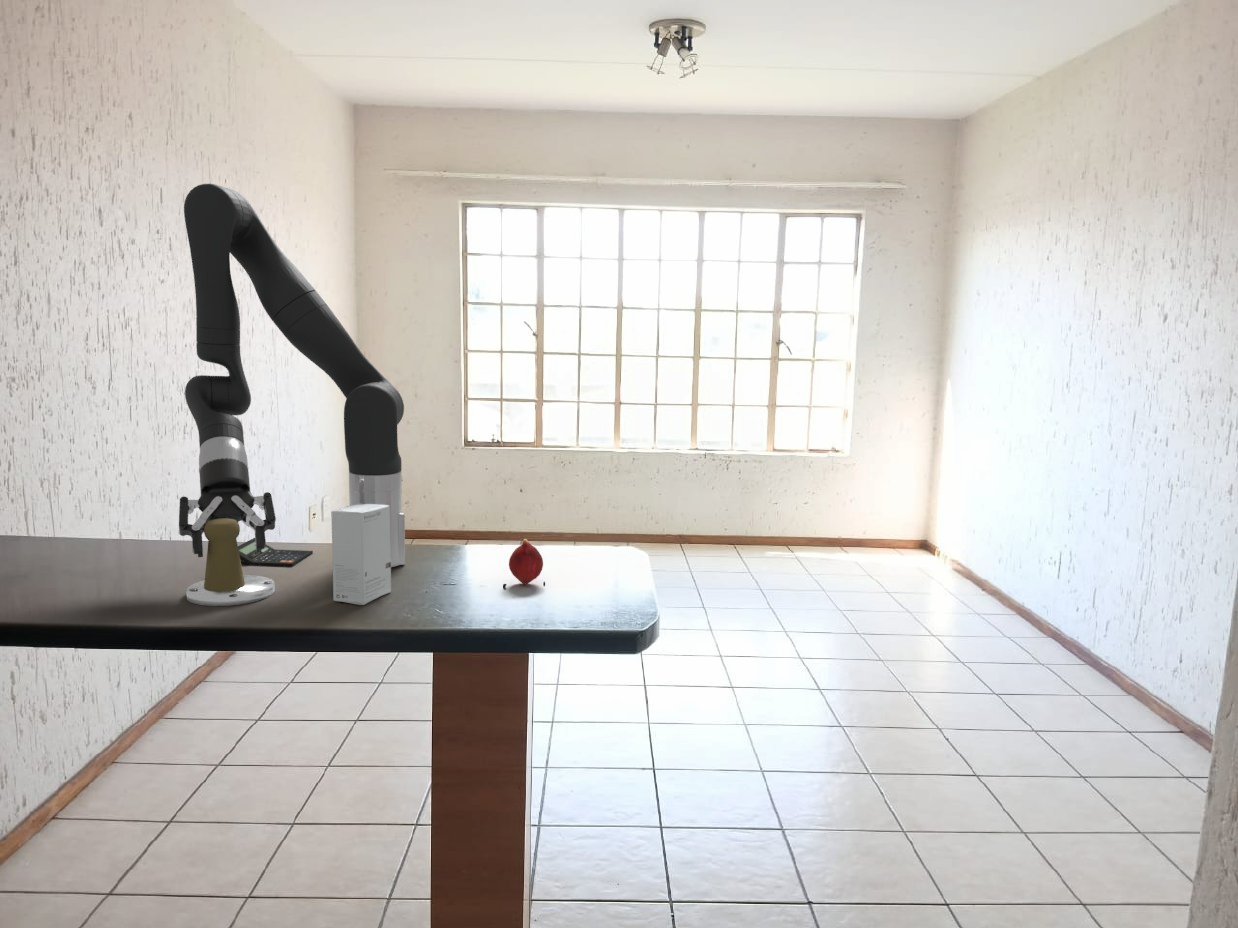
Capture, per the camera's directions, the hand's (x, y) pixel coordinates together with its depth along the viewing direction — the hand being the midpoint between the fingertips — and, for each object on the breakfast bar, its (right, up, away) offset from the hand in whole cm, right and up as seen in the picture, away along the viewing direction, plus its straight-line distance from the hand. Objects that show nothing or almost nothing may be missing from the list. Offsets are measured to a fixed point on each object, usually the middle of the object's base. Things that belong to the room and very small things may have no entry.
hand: (230, 552), depth 138 cm
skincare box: (+20, -8, +3) cm, 22 cm away
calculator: (-3, -4, +24) cm, 24 cm away
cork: (-2, -6, +2) cm, 7 cm away
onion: (+46, -7, +12) cm, 48 cm away
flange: (-1, -7, +2) cm, 7 cm away
